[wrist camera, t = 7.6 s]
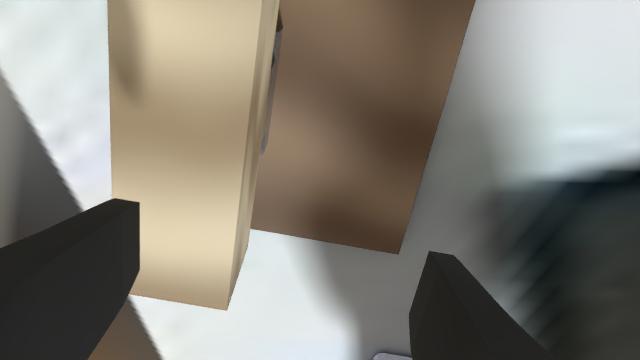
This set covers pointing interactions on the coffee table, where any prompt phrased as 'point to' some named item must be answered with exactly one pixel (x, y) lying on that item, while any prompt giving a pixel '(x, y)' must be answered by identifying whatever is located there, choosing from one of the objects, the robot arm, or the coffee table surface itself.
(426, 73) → the board
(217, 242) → the beech bar
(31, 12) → the coffee table surface
